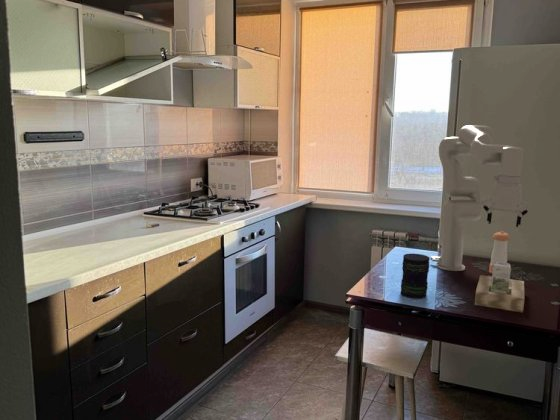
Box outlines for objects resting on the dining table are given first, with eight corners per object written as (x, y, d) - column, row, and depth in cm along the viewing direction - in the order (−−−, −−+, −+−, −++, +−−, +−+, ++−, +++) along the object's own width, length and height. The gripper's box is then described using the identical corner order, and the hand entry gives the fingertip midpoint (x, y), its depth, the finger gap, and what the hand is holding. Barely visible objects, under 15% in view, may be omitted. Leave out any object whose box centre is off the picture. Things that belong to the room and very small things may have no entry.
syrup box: (506, 300, 189) (510, 262, 186) (506, 305, 183) (511, 266, 181) (489, 298, 191) (493, 261, 188) (489, 303, 185) (493, 264, 183)
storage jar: (422, 300, 187) (425, 261, 184) (396, 295, 192) (399, 257, 189) (429, 293, 195) (433, 256, 192) (405, 288, 200) (407, 252, 198)
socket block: (474, 304, 184) (475, 291, 183) (479, 286, 206) (480, 274, 205) (522, 312, 178) (524, 299, 177) (522, 293, 199) (523, 281, 198)
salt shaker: (488, 273, 225) (493, 231, 222) (488, 269, 232) (493, 228, 229) (506, 275, 223) (511, 233, 220) (506, 271, 229) (510, 230, 226)
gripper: (483, 179, 189) (478, 223, 192) (534, 183, 182) (528, 229, 185) (484, 177, 196) (479, 220, 199) (534, 181, 188) (528, 226, 192)
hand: (503, 224), depth 192 cm, fingers open, 9 cm apart
